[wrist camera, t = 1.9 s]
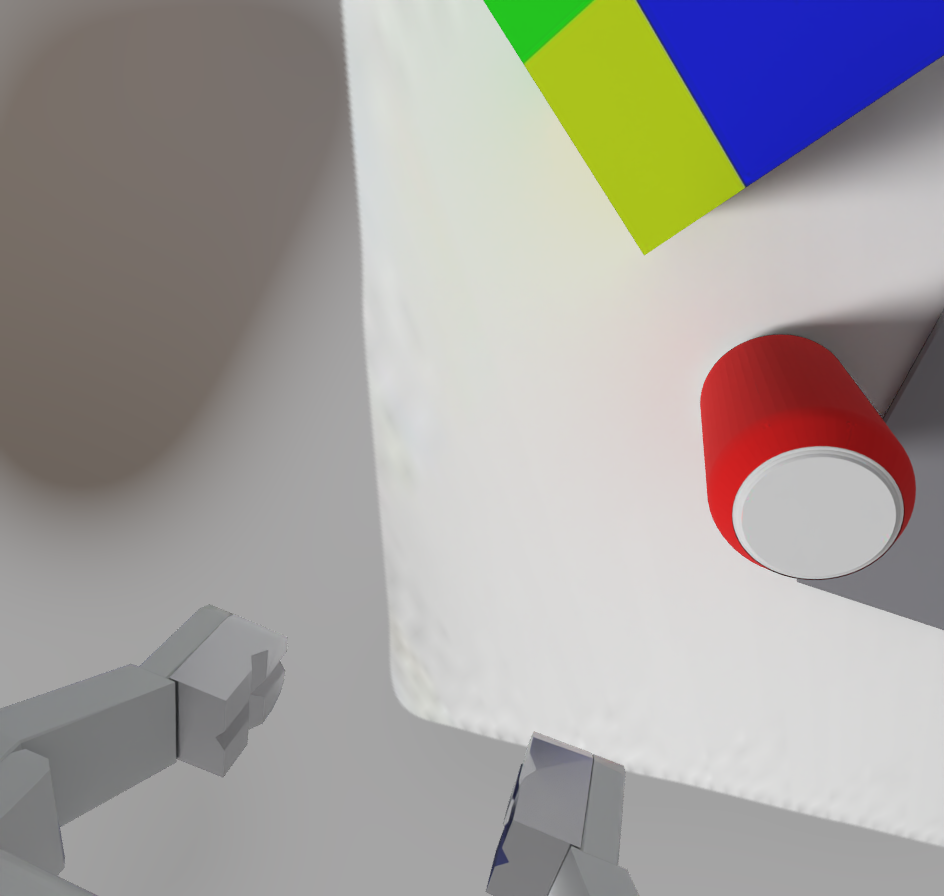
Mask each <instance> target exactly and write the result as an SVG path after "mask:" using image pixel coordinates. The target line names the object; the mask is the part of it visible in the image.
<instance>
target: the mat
mask: <svg viewBox="0 0 944 896" xmlns="http://www.w3.org/2000/svg"><path fill="white" fill-rule="evenodd" d="M883 421H884V422H885V423H886V425H887V426H888V427H889V429H890V430H891V431H892V433H893V434H894V435H895V437H896V438H897V439H898V441H899V442H900V444H901V445H902V446H903V448H904V449H905V451H906V453H907V455H908V457H909V459H910V461H911V464H912V467H913V471H914V475H915V482H916V499H915V504H914V509H913V512H912V515H911V518H910V520H909V522H908V524H907V526H906V528H905V529H904V531H903V533H902V534H901V535H900V537H899V538H898V539H897V540H896V542H895V543H894V544H893V545H892V547H891V548H890V549H889V550H888V551H887V552H886V553H885V554H884V555H883V556H882V557H881V558H879V559H878V560H877V561H876V562H874V563H873V564H871V565H870V566H868V567H866V568H864V569H862V570H860V571H858V572H855V573H853V574H850V575H847V576H843V577H839V578H833V579H825V580H804V579H797V582H799V583H802V584H805V585H808V586H812V587H815V588H818V589H821V590H824V591H827V592H830V593H833V594H836V595H839V596H842V597H845V598H848V599H851V600H854V601H857V602H860V603H863V604H866V605H869V606H872V607H875V608H878V609H881V610H884V611H887V612H890V613H894V614H897V615H900V616H903V617H906V618H909V619H912V620H915V621H918V622H921V623H924V624H927V625H930V626H933V627H936V628H939V629H942V630H944V310H943V312H942V314H941V316H940V318H939V319H938V321H937V323H936V325H935V327H934V328H933V330H932V332H931V334H930V336H929V337H928V339H927V341H926V343H925V345H924V346H923V348H922V350H921V352H920V354H919V355H918V357H917V359H916V361H915V363H914V365H913V366H912V368H911V370H910V372H909V374H908V375H907V377H906V379H905V381H904V383H903V384H902V386H901V388H900V390H899V392H898V393H897V395H896V397H895V399H894V401H893V402H892V404H891V406H890V408H889V410H888V411H887V413H886V415H885V417H884V419H883Z"/></svg>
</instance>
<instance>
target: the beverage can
mask: <svg viewBox="0 0 944 896" xmlns="http://www.w3.org/2000/svg"><path fill="white" fill-rule="evenodd" d="M700 407H701V419H702V432H703V445H704V457H705V470H706V483H707V495H708V503H709V508H710V512H711V514H712V517H713V520H714V522H715V524H716V526H717V528H718V529H719V531H720V532H721V534H722V535H723V537H724V538H725V539H726V540H727V542H728V543H729V544H730V545H731V546H732V547H733V548H734V549H735V550H736V551H738V552H739V553H740V554H741V555H743V556H744V557H745V558H747V559H748V560H750V561H752V562H753V563H755V564H757V565H759V566H761V567H764V568H766V569H768V570H771V571H773V572H776V573H778V574H781V575H784V576H788V577H792V578H797V579H804V580H825V579H833V578H839V577H843V576H847V575H850V574H853V573H855V572H858V571H860V570H862V569H864V568H866V567H868V566H870V565H871V564H873V563H874V562H876V561H877V560H878V559H879V558H881V557H882V556H883V555H884V554H885V553H886V552H887V551H888V550H889V549H890V548H891V547H892V545H893V544H894V543H895V542H896V540H897V539H898V538H899V537H900V535H901V534H902V533H903V531H904V529H905V528H906V526H907V524H908V522H909V520H910V518H911V515H912V512H913V509H914V504H915V499H916V482H915V475H914V471H913V467H912V464H911V461H910V459H909V457H908V455H907V453H906V451H905V449H904V448H903V446H902V445H901V444H900V442H899V441H898V439H897V438H896V437H895V435H894V434H893V433H892V431H891V430H890V429H889V427H888V426H887V425H886V423H885V422H884V421H883V419H882V418H881V417H880V415H879V414H878V413H877V411H876V410H875V409H874V407H873V406H872V405H871V403H870V402H869V401H868V399H867V398H866V396H865V395H864V394H863V392H862V391H861V390H860V388H859V387H858V386H857V384H856V383H855V382H854V380H853V379H852V378H851V376H850V375H849V374H848V372H847V371H846V370H845V368H844V367H843V366H842V364H841V363H840V362H839V360H838V359H837V358H836V357H835V356H834V355H833V354H832V353H831V352H830V351H829V350H827V349H826V348H825V347H823V346H821V345H820V344H818V343H816V342H814V341H812V340H809V339H806V338H803V337H799V336H793V335H768V336H763V337H758V338H755V339H752V340H749V341H746V342H744V343H742V344H740V345H738V346H736V347H734V348H733V349H731V350H730V351H728V352H727V353H726V354H725V355H723V356H722V357H721V358H720V359H719V360H718V361H717V363H716V364H715V365H714V366H713V368H712V369H711V371H710V372H709V374H708V376H707V378H706V380H705V382H704V385H703V388H702V392H701V401H700Z"/></svg>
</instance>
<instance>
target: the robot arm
mask: <svg viewBox="0 0 944 896" xmlns="http://www.w3.org/2000/svg"><path fill="white" fill-rule="evenodd" d="M287 639H288V638H287V637H286V636H284V635H282V634H280V633H278V632H275V631H273V630H271V629H268V628H266V627H264V626H261V625H259V624H257V623H254V622H252V621H249V620H247V619H245V618H242V617H239V616H237V615H235V614H232V613H230V612H227V611H225V610H222V609H220V608H217V607H215V606H213V605H210V604H209V605H206V606H204V607H202V608H200V609H199V610H198V611H197V612H196V613H195V614H194V615H192V616H191V617H190V618H189V619H188V620H187V621H186V622H185V623H184V624H183V625H182V626H181V627H180V628H179V629H178V630H177V631H176V632H175V633H174V634H173V635H171V637H169V638H168V639H167V640H166V641H165V642H164V643H163V644H162V645H161V646H160V647H159V648H158V649H157V650H156V651H155V652H154V653H153V654H152V655H151V656H149V657H148V658H147V659H146V660H145V661H144V662H143V663H142V664H141V665H140V666H136V665H133V664H129V665H126V666H123V667H120V668H117V669H115V670H111V671H109V672H106V673H103V674H100V675H97V676H94V677H91V678H88V679H85V680H83V681H80V682H76V683H74V684H71V685H68V686H65V687H62V688H59V689H56V690H54V691H50V692H47V693H45V694H42V695H39V696H36V697H33V698H30V699H27V700H24V701H21V702H18V703H15V704H12V705H9V706H7V707H4V708H1V709H0V896H97V895H95V894H93V893H91V892H89V891H87V890H85V889H83V888H81V887H79V886H77V885H75V884H73V883H71V882H69V881H67V880H65V879H62V878H60V877H58V875H59V873H60V872H61V871H62V870H63V869H64V863H65V855H64V849H63V843H62V838H61V831H60V827H61V826H63V825H64V824H67V823H68V822H70V821H72V820H74V819H75V818H77V817H79V816H81V815H83V814H84V813H86V812H88V811H90V810H92V809H93V808H95V807H97V806H99V805H101V804H102V803H104V802H106V801H108V800H109V799H111V798H113V797H115V796H116V795H118V794H120V793H122V792H124V791H126V790H127V789H129V788H131V787H133V786H135V785H136V784H138V783H140V782H142V781H143V780H145V779H147V778H149V777H151V776H152V775H154V774H156V773H158V772H160V771H161V770H163V769H165V768H167V767H169V766H170V765H172V764H174V763H176V759H178V760H181V761H183V762H186V763H188V764H191V765H193V766H196V767H198V768H201V769H203V770H206V771H208V772H211V773H213V774H216V775H218V776H221V777H224V776H225V774H226V773H227V772H228V770H229V769H230V767H231V766H232V764H233V763H234V762H235V760H236V759H237V758H238V756H239V755H240V754H241V752H242V751H243V750H244V748H245V747H246V745H247V740H248V730H249V729H251V728H253V727H255V726H258V725H260V724H262V723H263V722H264V721H265V719H266V718H267V716H268V715H269V713H270V712H271V711H272V709H273V707H274V705H275V703H276V701H277V699H278V697H279V695H280V692H281V689H282V685H283V682H284V676H285V669H284V667H283V666H282V664H281V662H280V660H281V659H282V657H283V656H284V655H285V653H286V652H287ZM625 774H626V772H625V769H624V766H623V765H620V764H617V763H615V762H612V761H610V760H607V759H605V758H602V757H599V756H597V755H594V754H593V755H592V753H590V752H588V751H585V750H582V749H580V748H577V747H574V746H572V745H569V744H566V743H564V742H561V741H558V740H556V739H553V738H550V737H548V736H545V735H542V734H540V733H537V732H533V734H532V736H531V739H530V742H529V744H528V747H527V751H526V755H525V759H524V763H523V764H521V766H520V769H519V772H518V775H517V778H516V781H515V784H514V787H513V790H512V793H511V796H510V800H509V804H508V808H507V811H506V815H505V818H504V822H503V824H504V830H503V833H502V835H501V838H500V841H499V844H498V847H497V850H496V853H495V857H494V861H493V865H492V869H491V873H490V877H489V881H488V885H487V889H486V892H487V893H489V894H491V895H493V896H639V894H638V892H637V889H636V887H635V885H634V883H633V880H632V878H631V876H630V874H629V872H628V870H627V869H625V868H623V867H620V866H618V860H619V848H620V835H621V823H622V812H623V798H624V786H625Z"/></svg>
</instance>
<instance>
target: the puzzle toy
mask: <svg viewBox="0 0 944 896" xmlns="http://www.w3.org/2000/svg"><path fill="white" fill-rule="evenodd" d="M484 2H485V4H486V5H487V7H488V8H489V10H490V12H491V13H492V15H493V16H494V18H495V19H496V21H497V23H498V24H499V26H500V27H501V29H502V31H503V32H504V34H505V35H506V37H507V38H508V40H509V42H510V43H511V45H512V46H513V48H514V50H515V51H516V53H517V54H518V56H519V58H520V59H521V61H522V62H523V64H524V65H525V67H526V69H527V70H528V72H529V73H530V75H531V77H532V78H533V80H534V81H535V83H536V85H537V86H538V88H539V89H540V91H541V92H542V94H543V96H544V97H545V99H546V100H547V102H548V104H549V105H550V107H551V108H552V110H553V111H554V113H555V115H556V116H557V118H558V119H559V121H560V123H561V124H562V126H563V127H564V129H565V131H566V132H567V134H568V135H569V137H570V138H571V140H572V142H573V143H574V145H575V146H576V148H577V150H578V151H579V153H580V154H581V156H582V158H583V159H584V161H585V162H586V164H587V165H588V167H589V169H590V170H591V172H592V173H593V175H594V177H595V178H596V180H597V181H598V183H599V184H600V186H601V188H602V189H603V191H604V192H605V194H606V196H607V197H608V199H609V200H610V202H611V204H612V205H613V207H614V208H615V210H616V211H617V213H618V215H619V216H620V218H621V219H622V221H623V223H624V224H625V226H626V227H627V229H628V231H629V232H630V234H631V235H632V237H633V238H634V240H635V242H636V243H637V245H638V246H639V248H640V250H641V251H642V253H643V254H644V255H646V254H647V253H649V252H650V251H652V250H653V249H655V248H656V247H657V246H659V245H660V244H662V243H663V242H665V241H666V240H668V239H669V238H671V237H672V236H674V235H675V234H677V233H678V232H680V231H681V230H683V229H684V228H686V227H687V226H689V225H690V224H692V223H693V222H695V221H696V220H698V219H699V218H701V217H702V216H704V215H705V214H707V213H708V212H710V211H711V210H713V209H714V208H716V207H717V206H719V205H720V204H722V203H723V202H725V201H726V200H728V199H729V198H731V197H732V196H734V195H735V194H737V193H738V192H740V191H741V190H743V189H744V188H746V187H747V186H749V185H750V184H752V183H753V182H755V181H756V180H758V179H759V178H761V177H762V176H764V175H765V174H767V173H768V172H770V171H771V170H773V169H774V168H776V167H777V166H779V165H780V164H782V163H783V162H785V161H786V160H788V159H789V158H791V157H792V156H794V155H795V154H797V153H798V152H800V151H801V150H803V149H804V148H806V147H807V146H809V145H810V144H812V143H813V142H815V141H816V140H818V139H819V138H821V137H822V136H824V135H825V134H827V133H828V132H830V131H831V130H833V129H834V128H836V127H837V126H839V125H840V124H842V123H843V122H845V121H846V120H848V119H849V118H851V117H852V116H854V115H855V114H857V113H858V112H860V111H861V110H863V109H864V108H866V107H867V106H869V105H870V104H872V103H873V102H875V101H876V100H878V99H879V98H881V97H882V96H883V95H885V94H886V93H888V92H889V91H891V90H892V89H894V88H895V87H897V86H898V85H900V84H901V83H903V82H904V81H906V80H907V79H909V78H910V77H912V76H913V75H915V74H916V73H918V72H919V71H921V70H922V69H924V68H925V67H927V66H928V65H930V64H931V63H933V62H934V61H936V60H937V59H939V58H940V57H942V56H943V55H944V0H484Z"/></svg>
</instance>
